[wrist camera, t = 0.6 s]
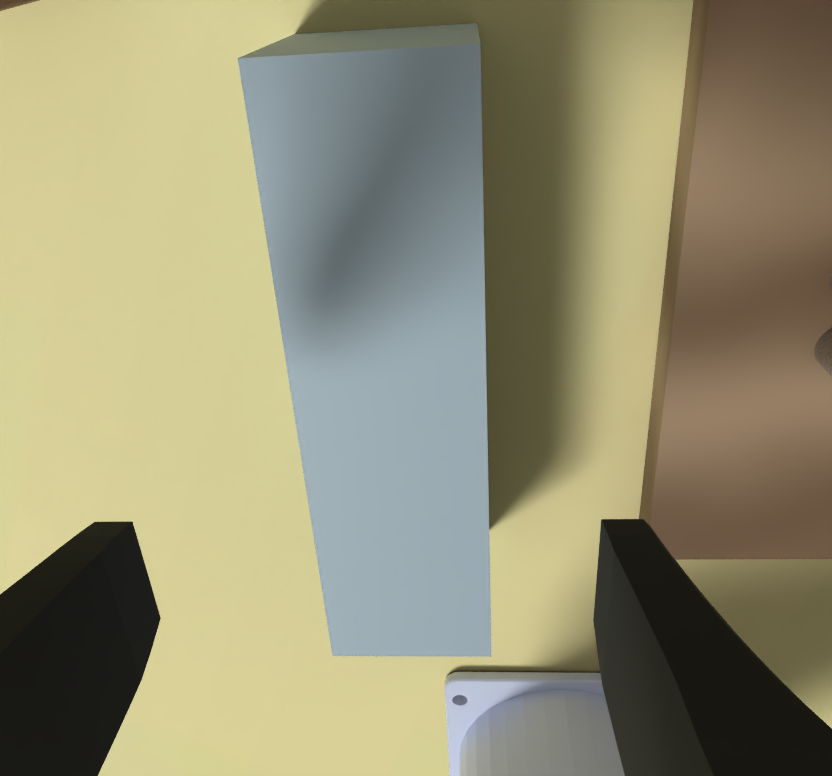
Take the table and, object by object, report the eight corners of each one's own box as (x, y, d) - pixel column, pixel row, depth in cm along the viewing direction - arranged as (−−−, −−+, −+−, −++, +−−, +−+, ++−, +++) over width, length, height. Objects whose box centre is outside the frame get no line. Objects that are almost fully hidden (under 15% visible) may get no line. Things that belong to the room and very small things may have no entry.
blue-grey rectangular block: (486, 527, 24) (491, 656, 19) (357, 528, 24) (332, 655, 19) (477, 21, 17) (480, 43, 12) (296, 33, 17) (237, 58, 13)
